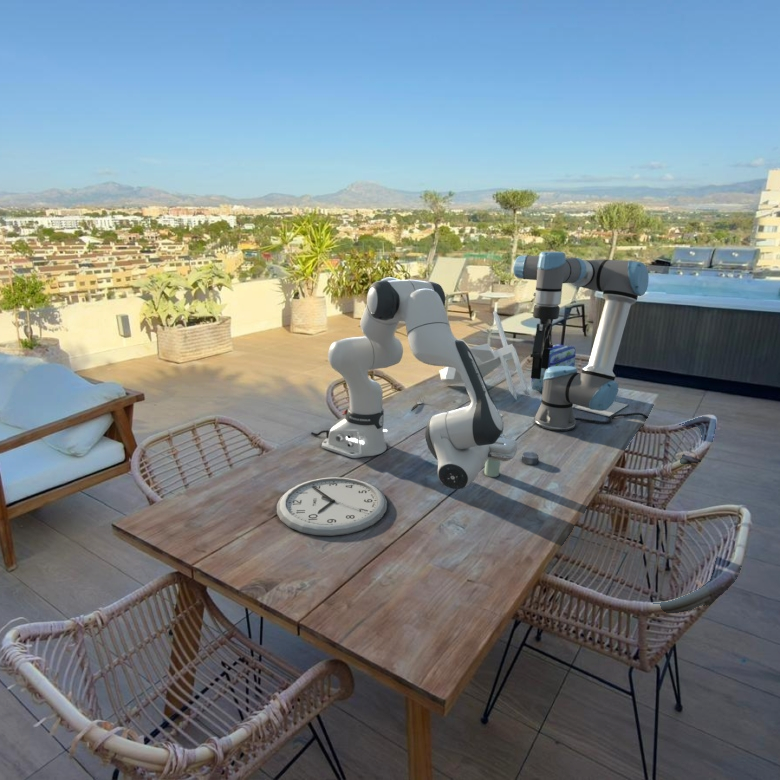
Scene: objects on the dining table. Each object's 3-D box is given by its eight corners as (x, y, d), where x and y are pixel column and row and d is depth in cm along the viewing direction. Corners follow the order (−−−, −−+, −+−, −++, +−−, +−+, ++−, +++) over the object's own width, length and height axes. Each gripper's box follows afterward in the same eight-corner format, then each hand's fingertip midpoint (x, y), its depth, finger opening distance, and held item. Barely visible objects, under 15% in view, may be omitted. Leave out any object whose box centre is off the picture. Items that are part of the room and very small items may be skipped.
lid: (539, 460, 173) (539, 453, 172) (536, 466, 169) (537, 459, 168) (523, 457, 175) (524, 450, 174) (520, 463, 171) (521, 456, 170)
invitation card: (608, 416, 214) (573, 407, 224) (608, 416, 214) (573, 408, 224) (628, 404, 229) (594, 396, 238) (628, 405, 229) (594, 397, 238)
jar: (484, 476, 161) (489, 416, 155) (484, 470, 165) (488, 411, 159) (499, 477, 160) (504, 417, 155) (498, 471, 165) (503, 412, 159)
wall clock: (392, 527, 129) (268, 531, 127) (391, 533, 130) (269, 537, 127) (383, 473, 158) (282, 475, 155) (383, 478, 158) (282, 480, 156)
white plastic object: (461, 429, 252) (437, 405, 227) (444, 352, 274) (420, 323, 250) (535, 404, 240) (518, 377, 215) (510, 326, 262) (492, 293, 237)
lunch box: (547, 397, 237) (552, 352, 231) (526, 391, 245) (531, 348, 238) (574, 386, 255) (580, 344, 249) (554, 381, 262) (559, 340, 256)
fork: (408, 411, 216) (408, 407, 215) (419, 400, 230) (419, 396, 229) (414, 412, 215) (414, 407, 214) (425, 401, 229) (425, 396, 229)
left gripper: (513, 448, 129) (523, 429, 141) (435, 433, 137) (451, 417, 149) (510, 471, 131) (521, 451, 143) (433, 455, 139) (450, 437, 151)
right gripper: (541, 299, 169) (535, 362, 175) (525, 309, 148) (519, 381, 154) (565, 301, 166) (558, 365, 172) (553, 311, 144) (545, 384, 151)
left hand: (485, 433), depth 146 cm, fingers open, 8 cm apart
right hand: (539, 373), depth 163 cm, fingers open, 13 cm apart
